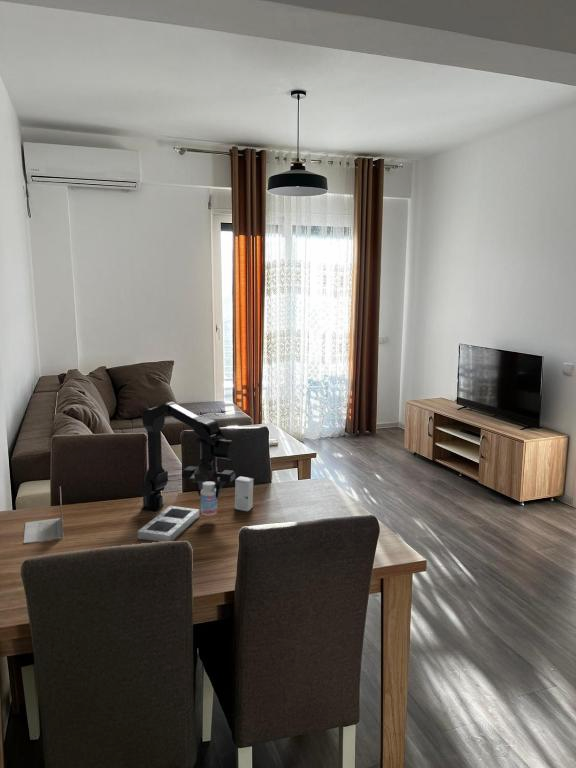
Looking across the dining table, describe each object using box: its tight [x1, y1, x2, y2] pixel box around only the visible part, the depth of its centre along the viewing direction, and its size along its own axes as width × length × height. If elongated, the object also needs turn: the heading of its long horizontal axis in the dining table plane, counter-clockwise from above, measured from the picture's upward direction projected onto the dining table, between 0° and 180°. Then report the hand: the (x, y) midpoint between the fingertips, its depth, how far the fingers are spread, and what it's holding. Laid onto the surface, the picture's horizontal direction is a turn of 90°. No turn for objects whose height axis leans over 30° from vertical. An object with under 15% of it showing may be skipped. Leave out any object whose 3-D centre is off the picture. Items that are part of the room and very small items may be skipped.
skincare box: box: [234, 476, 254, 512], centre depth 225 cm, size 6×4×12 cm
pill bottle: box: [199, 480, 218, 517], centre depth 212 cm, size 6×6×11 cm
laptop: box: [22, 486, 64, 544], centre depth 202 cm, size 18×12×13 cm
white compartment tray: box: [137, 505, 200, 543], centre depth 207 cm, size 12×24×3 cm, turn 165°
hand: (208, 496), depth 212 cm, fingers closed on pill bottle, 6 cm apart
